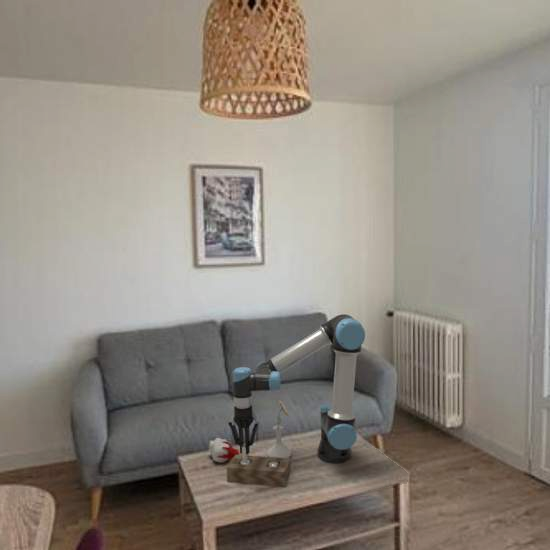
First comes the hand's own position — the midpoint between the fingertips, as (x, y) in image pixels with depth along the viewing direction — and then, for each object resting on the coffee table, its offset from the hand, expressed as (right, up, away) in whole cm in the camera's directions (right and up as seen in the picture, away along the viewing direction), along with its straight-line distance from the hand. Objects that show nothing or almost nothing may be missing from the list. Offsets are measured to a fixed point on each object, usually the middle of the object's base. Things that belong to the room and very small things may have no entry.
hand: (245, 460), depth 208 cm
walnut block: (+6, -6, -1) cm, 9 cm away
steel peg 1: (0, -6, 0) cm, 6 cm away
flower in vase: (+15, -5, +18) cm, 23 cm away
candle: (-11, -6, +16) cm, 20 cm away
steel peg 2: (+12, -6, -2) cm, 13 cm away
